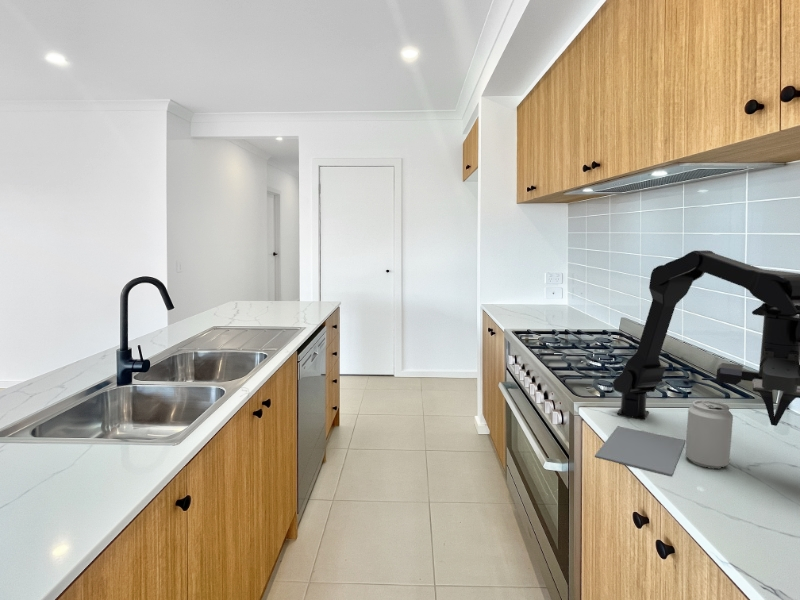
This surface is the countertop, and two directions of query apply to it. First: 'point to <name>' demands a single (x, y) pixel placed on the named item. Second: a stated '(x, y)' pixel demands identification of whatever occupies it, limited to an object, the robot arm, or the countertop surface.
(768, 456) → the countertop surface
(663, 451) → the mat
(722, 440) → the can
